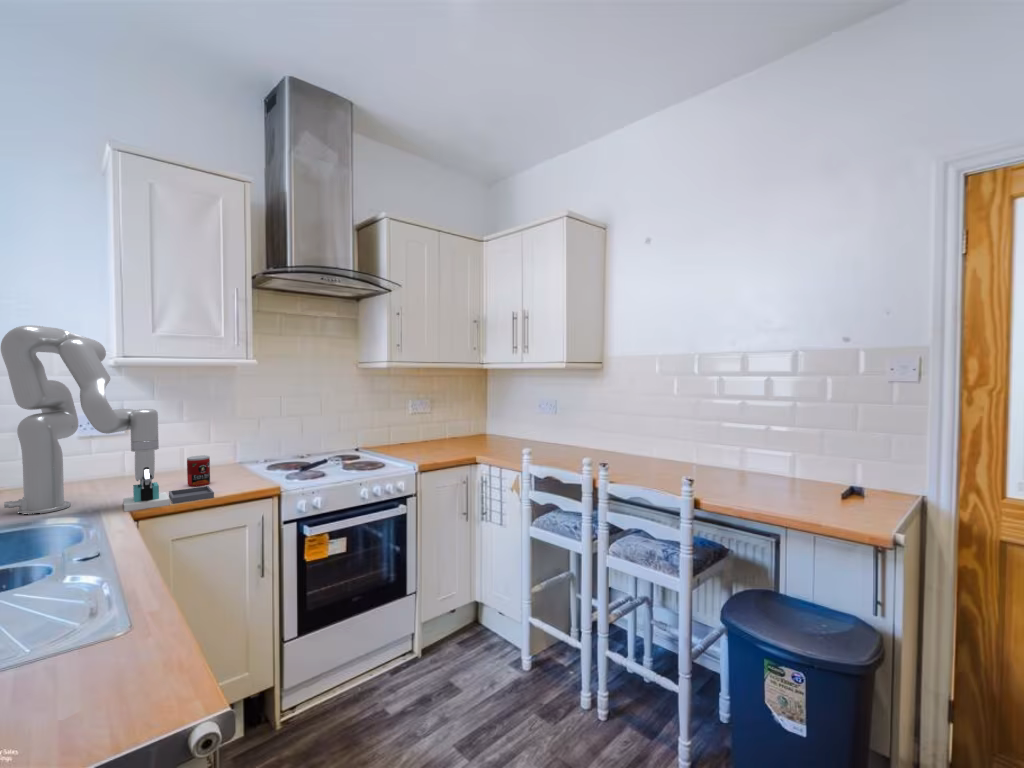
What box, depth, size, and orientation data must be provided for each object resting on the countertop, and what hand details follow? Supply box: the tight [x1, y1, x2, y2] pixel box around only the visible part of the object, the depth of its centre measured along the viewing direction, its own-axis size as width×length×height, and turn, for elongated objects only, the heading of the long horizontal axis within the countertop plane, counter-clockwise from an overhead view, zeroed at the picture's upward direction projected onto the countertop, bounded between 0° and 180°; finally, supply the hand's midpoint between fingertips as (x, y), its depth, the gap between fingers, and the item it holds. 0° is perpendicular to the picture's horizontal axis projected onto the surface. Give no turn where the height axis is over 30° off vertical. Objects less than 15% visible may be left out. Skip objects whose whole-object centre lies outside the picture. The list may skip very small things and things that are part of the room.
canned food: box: [186, 454, 211, 488], centre depth 194 cm, size 8×8×11 cm
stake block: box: [122, 491, 171, 512], centre depth 166 cm, size 12×12×8 cm
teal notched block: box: [132, 481, 160, 502], centre depth 166 cm, size 7×7×4 cm
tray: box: [168, 485, 215, 505], centre depth 175 cm, size 12×12×2 cm
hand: (146, 497), depth 166 cm, fingers closed on teal notched block, 6 cm apart
